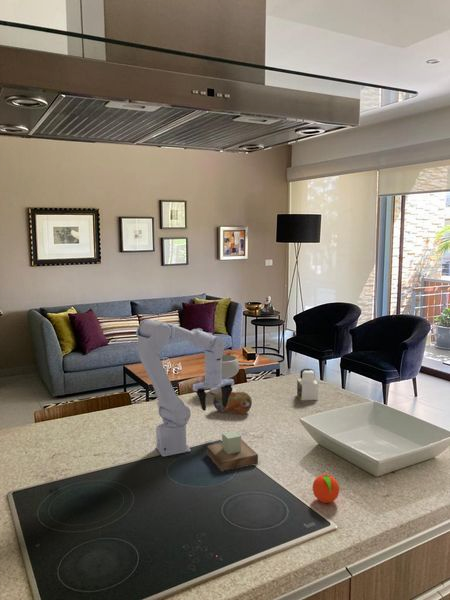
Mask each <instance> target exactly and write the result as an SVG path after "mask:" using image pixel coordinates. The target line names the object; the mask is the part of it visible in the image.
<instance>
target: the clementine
mask: <svg viewBox="0 0 450 600" xmlns="http://www.w3.org/2000/svg"><path fill="white" fill-rule="evenodd" d="M312 493H313V496H315V498H316V499H317V500H318V501H320V502H321V503H325V504H329V503H331V502H334V501H335V500H336V499H337V498H338V497H339V495H340V485H339V483H338V480H337V479H335V477H333V476H332V475H329V474H324V473H323V474H321V475H319V476H317V477H316V478H315V479H314V481H313V483H312Z"/></svg>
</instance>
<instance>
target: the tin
mask: <svg viewBox="0 0 450 600" xmlns="http://www.w3.org/2000/svg"><path fill="white" fill-rule="evenodd" d="M212 402H213V407H214V408H215V410H217V412H219V413H222V414H233V415H234V414H235V415H236V414H237V415H244V414H246V413H248V412H249V411H250V410H251V407H252V405H253V401H252V398H251V396H250V395H249V394H248V393H247V392H245V391H238V390H237V391H232V392H231V393H230V396H229V398H228V401H227V405H226V407H224V406H222V391H221V392H219V393H217V394H214V397H213V401H212Z"/></svg>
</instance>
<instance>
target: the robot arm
mask: <svg viewBox="0 0 450 600" xmlns="http://www.w3.org/2000/svg"><path fill="white" fill-rule="evenodd" d="M203 330H204V329H202V328H200V327H197V328H193V329H191V330H189V329H186V328H184V327H181V326H179V325H177V324H174V323H169V322H164V321H159V320H152V319H148V318H146V319H143V320H142V321H141V322H140V323H139V324H138V327H137V330H136V332H135V335H136V337H137V339H138V340H137V342H138V344H137V346H138V358H139V360H140V362H141V364H142V366H143V368H144V370H145V372H146V375H147V376H148V379H149V380H150V382H151V385H152V387H153V389H154V392H155V393H156V396H157V397H158V401H157V403H156V404H157V407H158V415H159V417H160V418H162V423H161V424H159V425H156V428H155V435H156V436H155V439H156V445H155V447H156V449H157V450H158V453H160V455H161V457H168V456H174V455H179V454H183V453H188V452H191V448H190V447H189V446H188V445H187V425H188V422H190V418H191V415H192V414H191V409H190V408H189V407H188V406H187V405H185V403H184V401H183V400H182V399H181V398H180V397H179V396H178V395H177V394H176V392H175V389H174V387H173V385H172V382H171V381H170V378H169V375H168V374H167V372H166V369H165V367H164V365H163V363H162V360H161V358H160V356H159V354H160V353H161V352H162V351H163V350H164V348H165V346H166V345H167V344H168V342H169V340H172V339H173V338H174V337H176V338H179V339H182V340H186V341H187V343H188V345H189V346H191V347H194V348H197V349H200V350H202V351H204V377H205V378H204V381H201V382H198V383H194V384H192V390H193V391H194V392H195V393H196V396H197V397H198V400H199V402H200V406H201V410H202V411H204V412H205V411H206V410H207V406H206V403H207V402H206V399H207V393H206V390H208V389H209V390H210V389H211V388H218V387H221V391H222V406H224V407H226V405H227V401H228V398H229V396H230V393H231V392H232V387H234V386H235V380H234V379H233V378H229V379H222V356H223V355H224V350H225V347H226V343H225V340H224V339H223V338H222V337H221V336H217V335H213V333H212V332H206V331H203ZM231 386H232V387H231Z"/></svg>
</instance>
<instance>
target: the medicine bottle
mask: <svg viewBox="0 0 450 600" xmlns="http://www.w3.org/2000/svg"><path fill="white" fill-rule="evenodd" d="M296 382H297V383H296V396H298V398H299V400H300V401H302V402H303V401H305V402H306V401H318V399H319V383H318V382H317V381H316V371H315V370H314V369H313V368H303V369H301V370H300V375H299V378H298V379H296Z"/></svg>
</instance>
